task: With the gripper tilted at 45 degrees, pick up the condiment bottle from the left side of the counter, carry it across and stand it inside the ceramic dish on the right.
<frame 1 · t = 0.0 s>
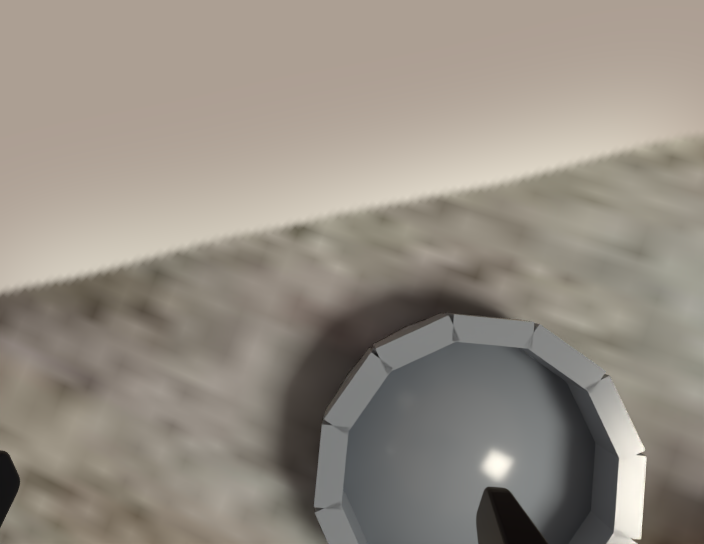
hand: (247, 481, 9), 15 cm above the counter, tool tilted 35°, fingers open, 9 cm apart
dish: (464, 457, 24), on the counter
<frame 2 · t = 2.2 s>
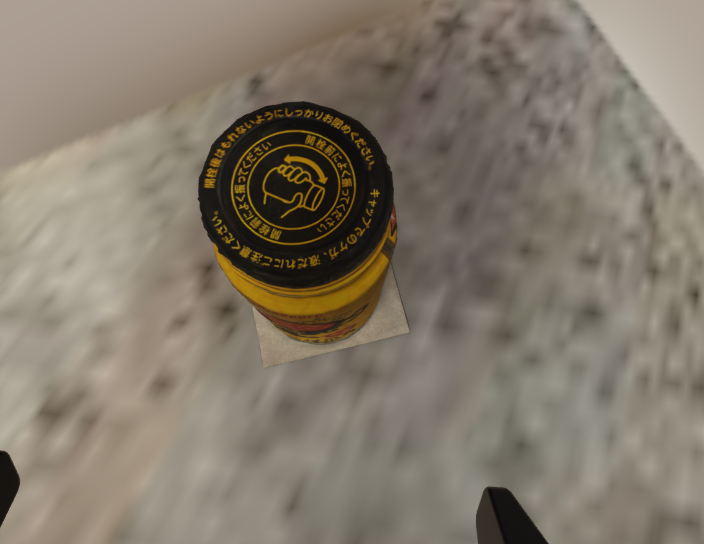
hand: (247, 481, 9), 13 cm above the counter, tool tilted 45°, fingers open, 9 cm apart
condiment: (319, 270, 24), on the counter
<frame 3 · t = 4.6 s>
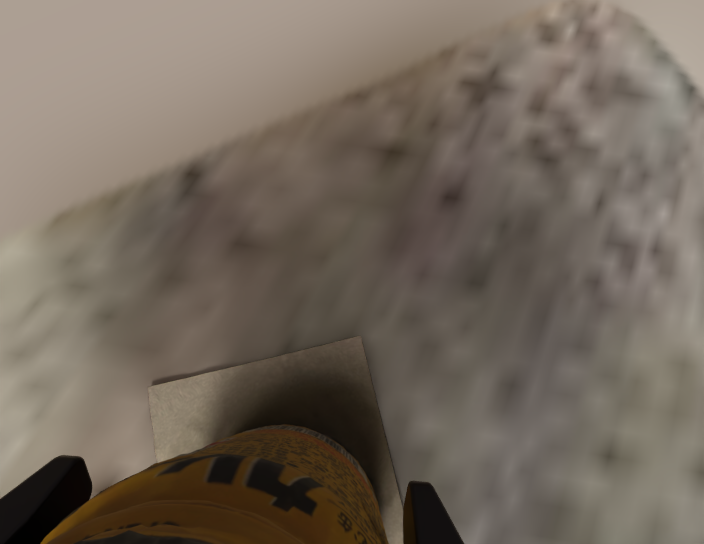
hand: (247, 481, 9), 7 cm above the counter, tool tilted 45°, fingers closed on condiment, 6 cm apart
condiment: (282, 491, 15), on the counter, touching gripper
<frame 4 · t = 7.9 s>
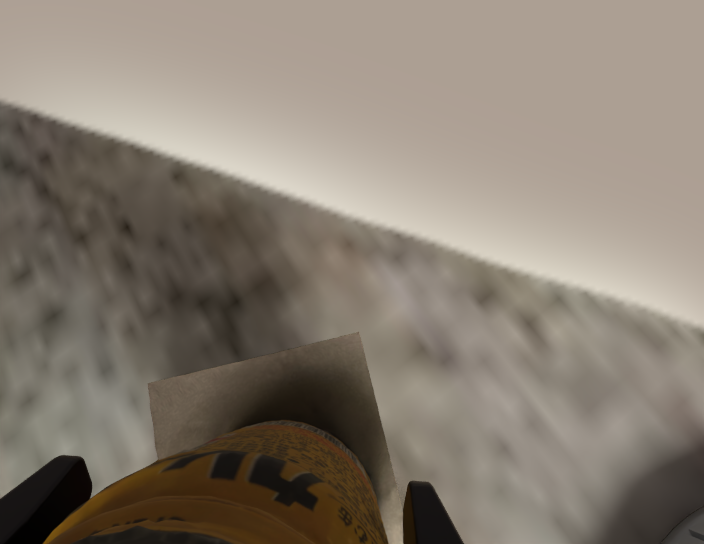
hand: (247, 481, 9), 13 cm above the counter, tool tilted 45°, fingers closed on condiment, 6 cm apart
condiment: (281, 485, 15), point 6 cm above the counter, touching gripper
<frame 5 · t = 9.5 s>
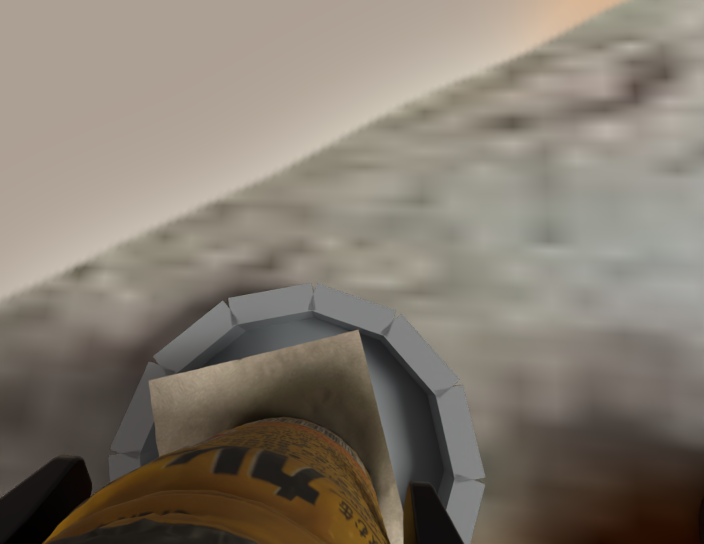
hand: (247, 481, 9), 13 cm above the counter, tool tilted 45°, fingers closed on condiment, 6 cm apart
condiment: (281, 482, 15), point 6 cm above the counter, touching gripper
dish: (303, 456, 21), on the counter
when the fingers open (9 cm above the counter, at t = 10.8 s): condiment stays where it is, resting on dish.
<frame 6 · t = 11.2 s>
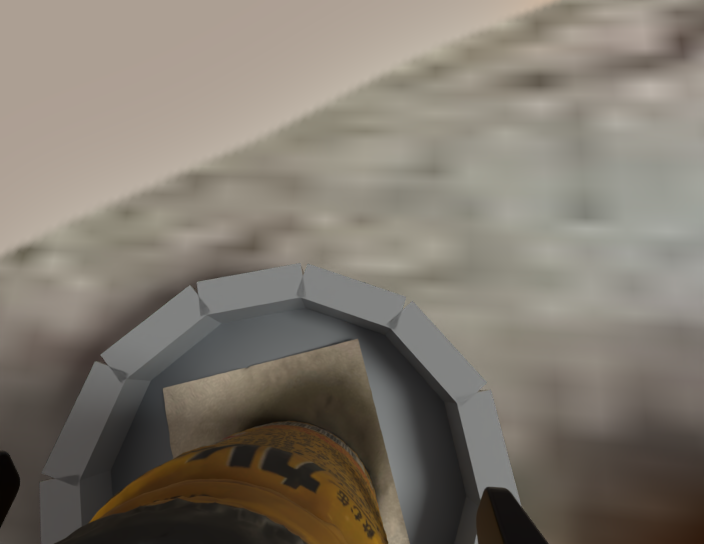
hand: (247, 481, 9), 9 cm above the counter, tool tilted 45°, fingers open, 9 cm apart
condiment: (287, 482, 16), point 1 cm above the counter, touching dish
dish: (291, 478, 17), on the counter
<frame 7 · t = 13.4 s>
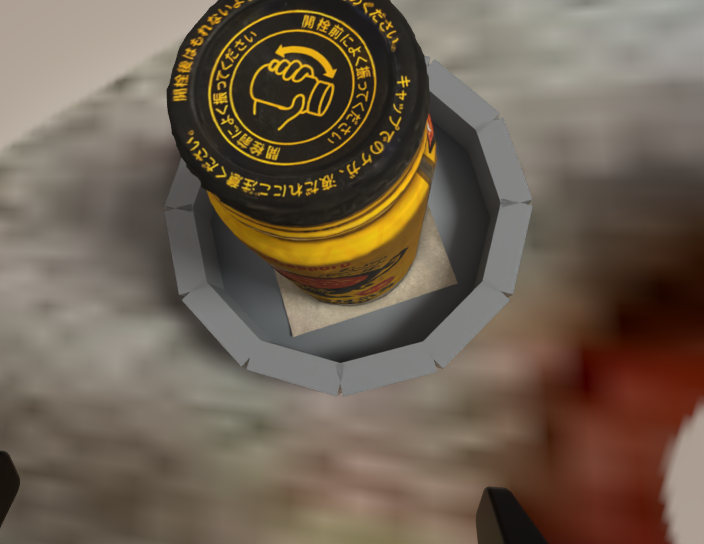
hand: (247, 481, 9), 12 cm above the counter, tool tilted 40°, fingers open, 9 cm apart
condiment: (346, 221, 21), point 1 cm above the counter, touching dish
dish: (348, 226, 22), on the counter
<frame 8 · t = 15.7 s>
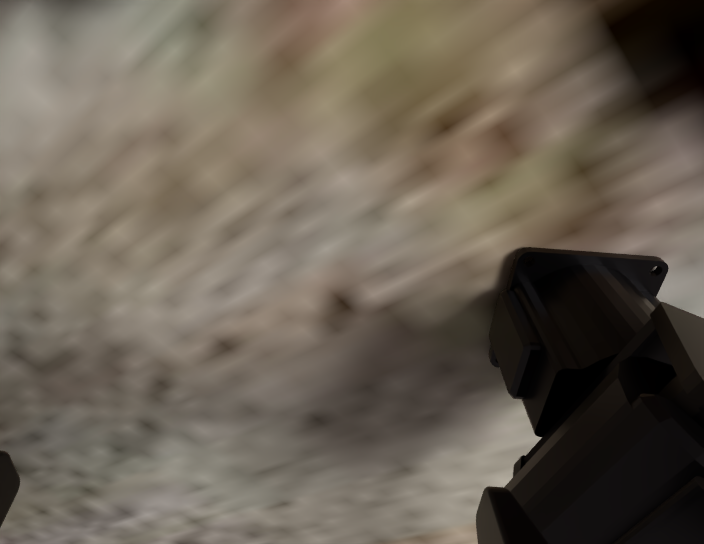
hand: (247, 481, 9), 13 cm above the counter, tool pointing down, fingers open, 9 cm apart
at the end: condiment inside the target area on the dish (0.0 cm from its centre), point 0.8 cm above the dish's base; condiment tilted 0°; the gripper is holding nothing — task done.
